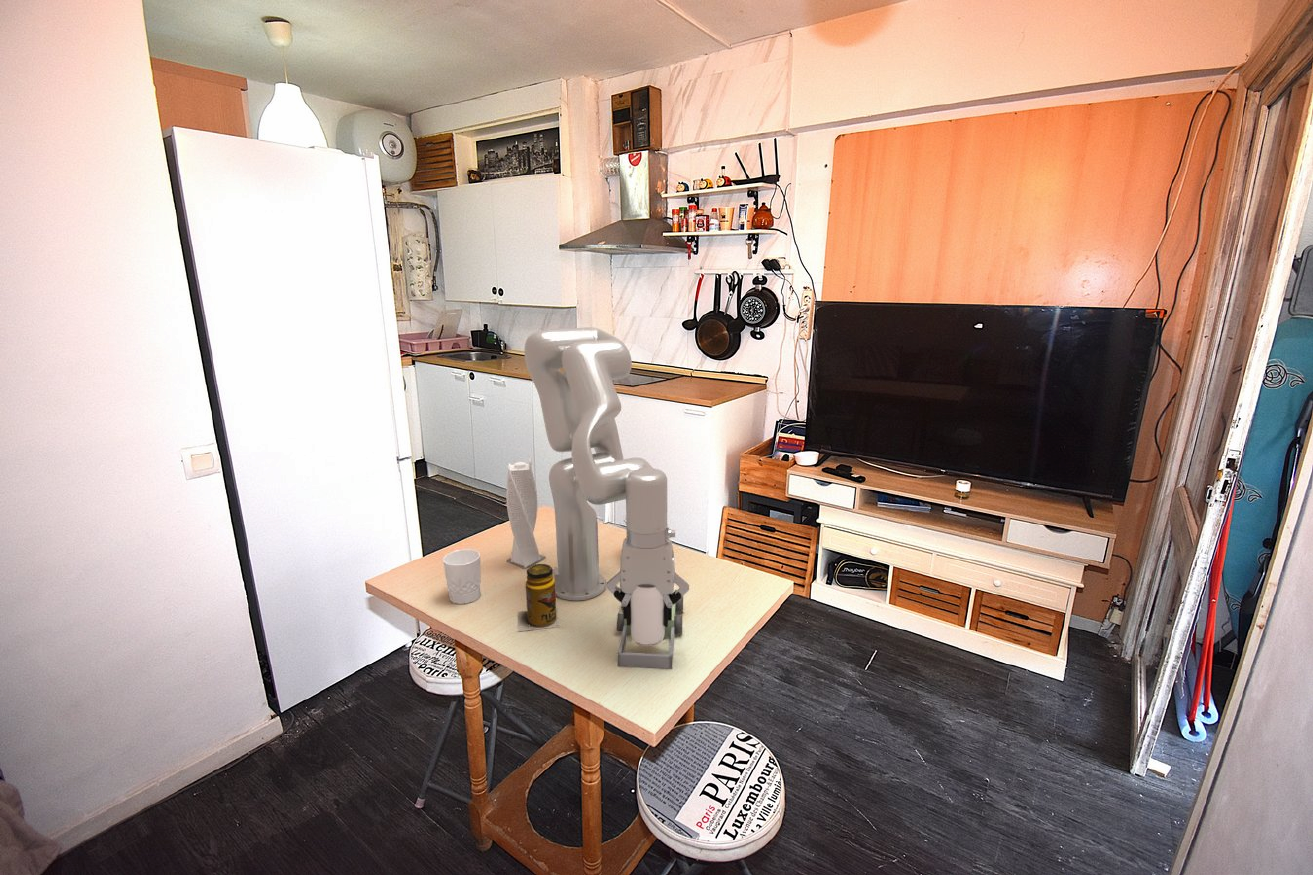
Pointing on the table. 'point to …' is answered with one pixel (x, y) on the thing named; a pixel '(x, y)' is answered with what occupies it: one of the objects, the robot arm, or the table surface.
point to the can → (647, 616)
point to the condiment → (539, 600)
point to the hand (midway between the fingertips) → (647, 621)
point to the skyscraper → (522, 514)
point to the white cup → (463, 575)
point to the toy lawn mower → (650, 659)
